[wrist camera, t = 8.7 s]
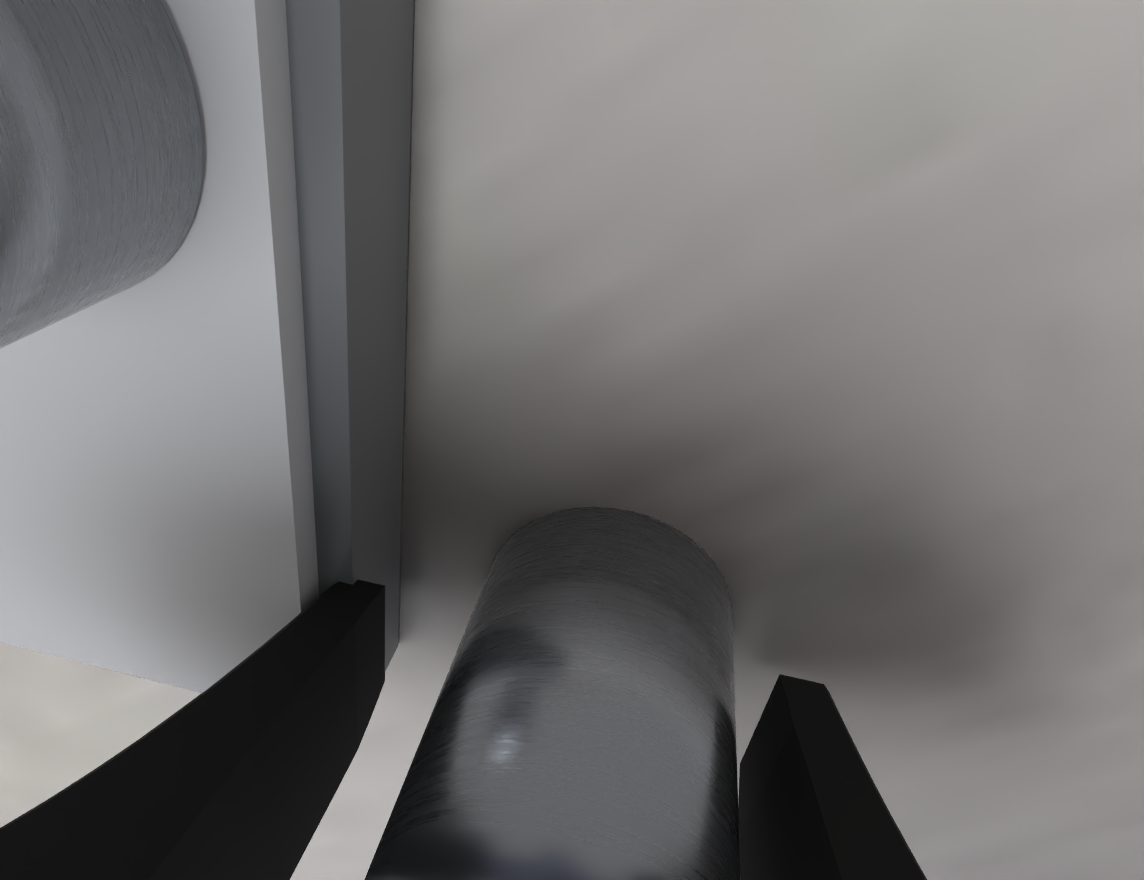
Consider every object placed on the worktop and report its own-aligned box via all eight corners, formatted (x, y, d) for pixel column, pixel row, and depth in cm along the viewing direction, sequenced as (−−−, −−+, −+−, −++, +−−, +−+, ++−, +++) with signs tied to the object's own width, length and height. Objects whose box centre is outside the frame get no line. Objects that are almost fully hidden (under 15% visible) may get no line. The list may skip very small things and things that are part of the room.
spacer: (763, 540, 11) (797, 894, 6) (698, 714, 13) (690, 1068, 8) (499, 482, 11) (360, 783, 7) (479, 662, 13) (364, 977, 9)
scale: (419, -245, 7) (299, -353, 5) (398, 645, 13) (342, 756, 11) (-341, -357, 7) (-731, -495, 5) (-9, 547, 14) (-131, 637, 12)
